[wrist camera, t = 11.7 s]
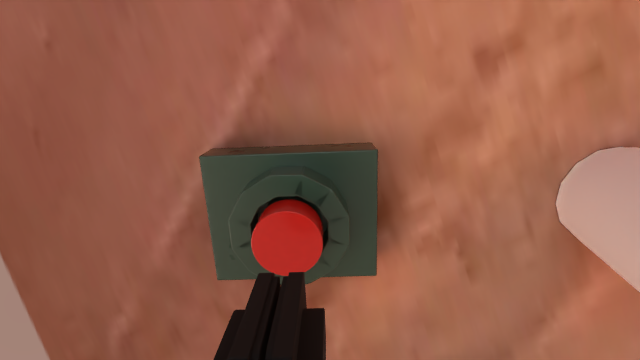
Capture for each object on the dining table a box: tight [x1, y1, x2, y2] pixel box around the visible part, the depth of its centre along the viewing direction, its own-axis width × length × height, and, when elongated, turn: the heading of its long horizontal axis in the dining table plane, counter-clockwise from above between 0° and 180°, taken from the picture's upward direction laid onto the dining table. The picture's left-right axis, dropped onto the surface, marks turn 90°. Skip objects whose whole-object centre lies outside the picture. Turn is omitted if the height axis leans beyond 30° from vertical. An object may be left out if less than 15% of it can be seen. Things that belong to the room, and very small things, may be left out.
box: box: [199, 143, 378, 284], centre depth 20 cm, size 10×8×4 cm
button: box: [251, 199, 323, 276], centre depth 17 cm, size 4×4×2 cm
